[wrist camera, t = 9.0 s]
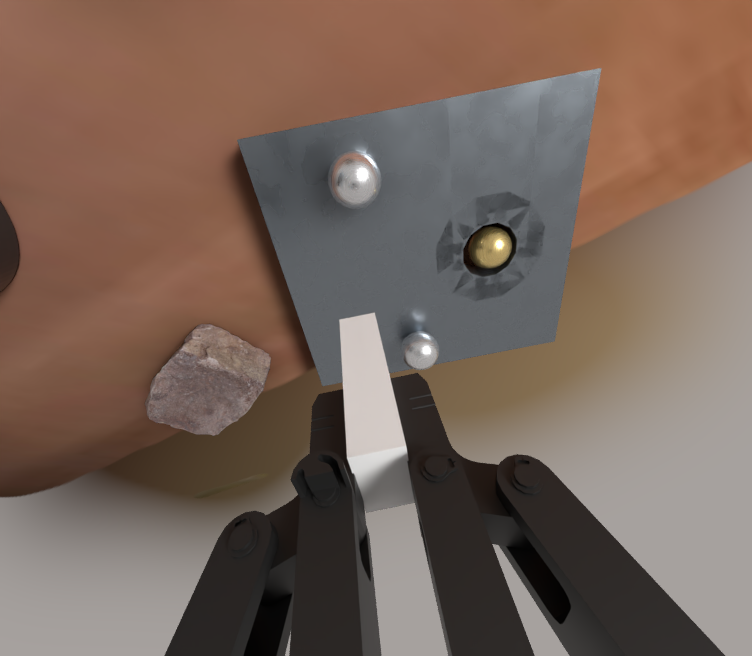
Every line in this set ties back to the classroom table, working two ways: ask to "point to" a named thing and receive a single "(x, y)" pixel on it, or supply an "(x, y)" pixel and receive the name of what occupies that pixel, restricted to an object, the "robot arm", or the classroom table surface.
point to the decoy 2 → (419, 350)
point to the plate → (431, 218)
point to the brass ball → (490, 247)
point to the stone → (208, 382)
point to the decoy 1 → (354, 179)
